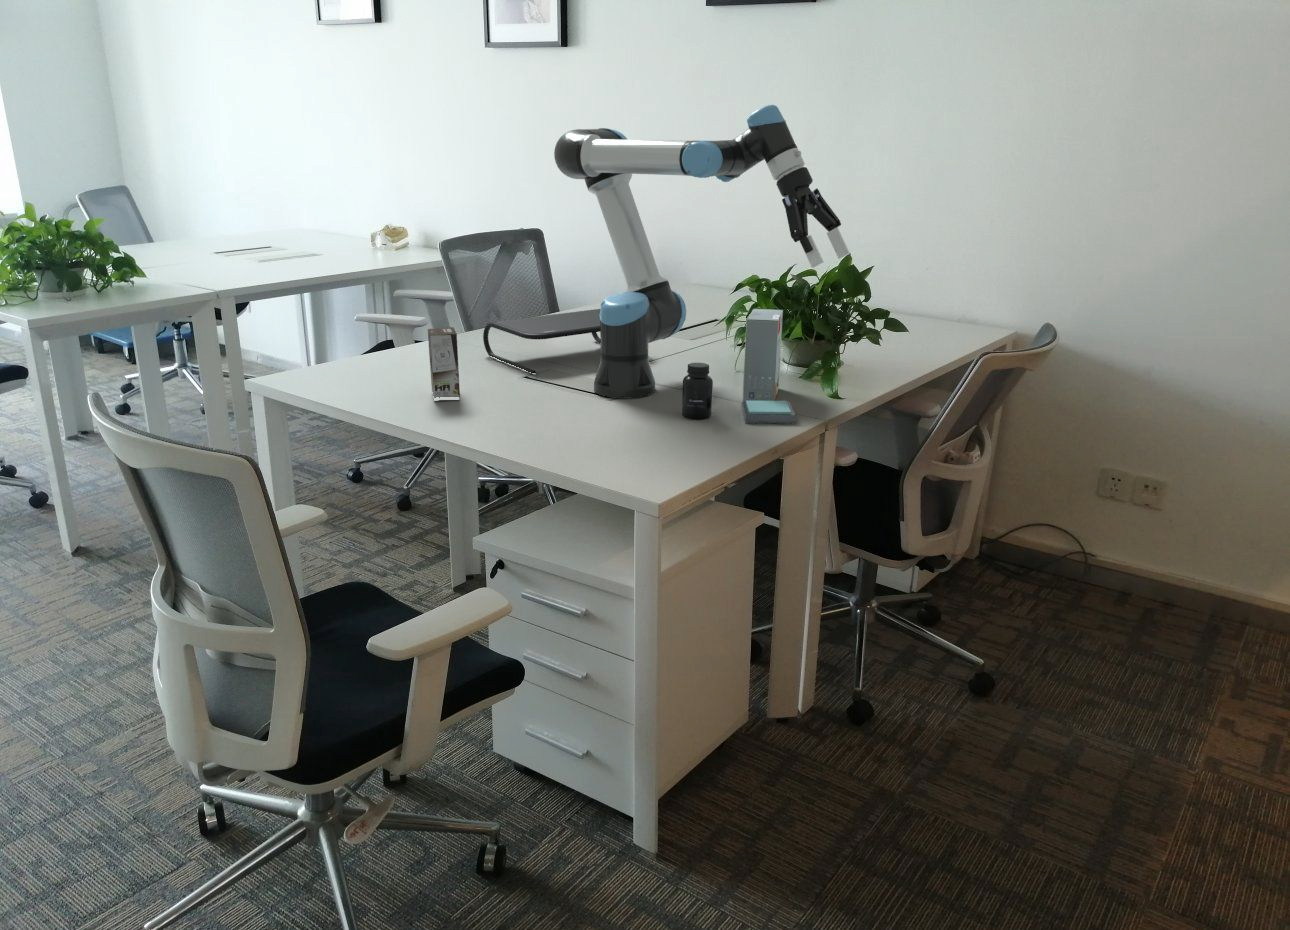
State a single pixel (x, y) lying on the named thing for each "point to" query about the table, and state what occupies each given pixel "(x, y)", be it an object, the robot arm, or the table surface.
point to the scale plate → (768, 407)
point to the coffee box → (444, 362)
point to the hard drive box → (762, 355)
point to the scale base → (767, 416)
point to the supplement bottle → (697, 392)
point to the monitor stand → (546, 328)
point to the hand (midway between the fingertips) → (831, 260)
